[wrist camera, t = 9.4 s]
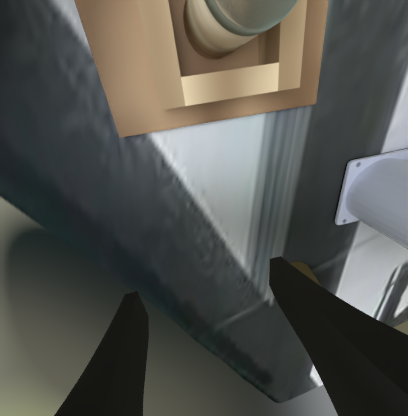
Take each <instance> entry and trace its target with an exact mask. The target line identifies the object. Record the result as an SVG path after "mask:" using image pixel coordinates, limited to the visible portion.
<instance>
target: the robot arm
mask: <svg viewBox="0 0 408 416" xmlns="http://www.w3.org/2000/svg"><path fill="white" fill-rule="evenodd" d="M356 164H357V165H356ZM359 220H361V221H362V222H364V223H366V224H367V225H369V226H371V227H372V228H374V229H376V230H377V231H379V232H380V233H382V234H384V235H385V236H387V237H389V238H390V239H392V240H394V241H395V242H397V243H398V244H400V245H402V246H403V247H405V248H407V249H408V149H404V150H399V151H394V152H389V153H384V154H379V155H374V156H369V157H365V158H360V159H355V160H351V161H350V162H349V163H348V164H347V168H346V172H345V177H344V181H343V186H342V190H341V195H340V200H339V204H338V209H337V213H336V218H335V224H337V225H342V224H346V223H351V222H355V221H359ZM269 285H270V287H271V290H272V292H273V294H274V296H275V298H276V300H277V302H278V304H279V306H280V307H281V309H282V311H283V312H284V314H285V316H286V317H287V319H288V321H289V322H290V324H291V326H292V327H293V329H294V330H295V332H296V334H297V335H298V337H299V339H300V340H301V342H302V344H303V345H304V347H305V349H306V351H307V352H308V354H309V356H310V358H311V360H312V362H313V364H314V366H315V368H316V370H317V372H318V374H319V376H320V378H321V380H322V382H323V384H324V386H325V388H326V390H327V393H328V394H329V397H330V399H331V401H332V403H333V405H334V407H335V410H336V412H337V414H338V416H408V335H406V334H404V333H402V332H400V331H398V330H396V329H394V328H392V327H390V326H388V325H386V324H384V323H382V322H380V321H378V320H376V319H374V318H373V317H371V316H369V315H367V314H365V313H364V312H362V311H360V310H358V309H356V308H355V307H353V306H351V305H350V304H348V303H346V302H345V301H343V300H341V299H340V298H338V297H337V296H335V295H334V294H332V293H331V292H329V291H327V290H326V289H325V288H323V287H322V286H320V285H319V284H317V283H316V282H314V281H313V280H312V279H310V278H309V277H307V276H306V275H305V274H303V273H302V272H301V271H299V270H298V269H297V268H295V267H294V266H293V265H291V264H290V263H289V262H287V261H286V260H285V259H283V258H282V257H281V256H280V257H276V258H272V259H270V275H269ZM148 330H149V328H148V314H147V312H146V309H145V307H144V305H143V303H142V301H141V298H140V296H139V294H138V292H133V293H129V294H125V296H124V297H123V299H122V301H121V303H120V306H119V308H118V310H117V312H116V314H115V316H114V318H113V320H112V322H111V324H110V326H109V328H108V330H107V331H106V333H105V335H104V337H103V339H102V341H101V343H100V344H99V346H98V348H97V350H96V351H95V353H94V355H93V357H92V358H91V360H90V362H89V364H88V365H87V367H86V368H85V370H84V372H83V373H82V375H81V376H80V378H79V380H78V381H77V383H76V384H75V386H74V388H73V389H72V390H71V392H70V394H69V395H68V396H67V398H66V400H65V401H64V402H63V404H62V405H61V407H60V408H59V410H58V411H57V413H56V414H55V415H54V416H143V394H144V382H145V371H146V360H147V348H148V337H149V332H148Z"/></svg>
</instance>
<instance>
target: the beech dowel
mask: <svg viewBox="0 0 408 416" xmlns="http://www.w3.org/2000/svg"><path fill="white" fill-rule="evenodd" d="M297 2H298V0H186V1H185V5H184V10H183V25H184V30H185V34H186V36H187V39H188V41H189V43H190V45H191V46H192V48H193V49H194V50H195V51H196V52H197V53H198V54H200V55H201V56H203V57H205V58H208V59H220V58H223V57H225V56H227V55H228V54H230V53H231V52H233V51H234V50H236V49H238V48H239V47H241V46H242V45H244V44H245V43H247V42H248V41H250V40H251V39H253V38H254V37H256V36H257V35H259V34H261V33H263V32H265V31H267V30H269V29H270V28H272V27H273V26H275V25H276V24H278V23H279V22H280V21H282V20H283V19H284V18H285V17H286V16H287V15H288V14H289V13H290V12H291V10H292V9H293V8H294V7H295V5H296V4H297Z"/></svg>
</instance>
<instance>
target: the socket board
mask: <svg viewBox="0 0 408 416" xmlns="http://www.w3.org/2000/svg"><path fill="white" fill-rule="evenodd" d="M74 1H75V4H76V7H77V10H78V13H79V16H80V19H81V22H82V25H83V28H84V31H85V34H86V37H87V40H88V43H89V46H90V49H91V52H92V55H93V58H94V61H95V64H96V67H97V70H98V73H99V76H100V79H101V82H102V85H103V88H104V91H105V94H106V97H107V100H108V103H109V106H110V109H111V112H112V116H113V119H114V122H115V125H116V128H117V131H118V134H119V137H120V138H121V137H127V136H132V135H138V134H144V133H150V132H156V131H161V130H167V129H173V128H179V127H184V126H190V125H196V124H202V123H208V122H213V121H219V120H225V119H231V118H237V117H242V116H248V115H254V114H260V113H265V112H271V111H277V110H283V109H289V108H294V107H300V106H306V105H312V104H316V99H317V91H318V83H319V74H320V66H321V58H322V50H323V42H324V34H325V25H326V17H327V9H328V1H329V0H298V2H297V4H296V5H295V7H294V8H293V9H292V10H291V12H290V13H289V14H288V15H287V16H286V17H285V18H284V19H283V20H282V21H280V22H279V23H278V24H276V25H275V26H273V27H272V28H270V29H269V30H267V31H265V32H263V33H261V34H259V35H257V36H256V37H254V38H253V39H251V40H250V41H248V42H247V43H245V44H244V45H242V46H241V47H239V48H238V49H236V50H234V51H233V52H231V53H230V54H228V55H227V56H225V57H223V58H220V59H208V58H205V57H203V56H201V55H200V54H198V53H197V52H196V51H195V50H194V49H193V48H192V46H191V45H190V43H189V41H188V39H187V36H186V34H185V30H184V25H183V10H184V5H185V1H186V0H74Z"/></svg>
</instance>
